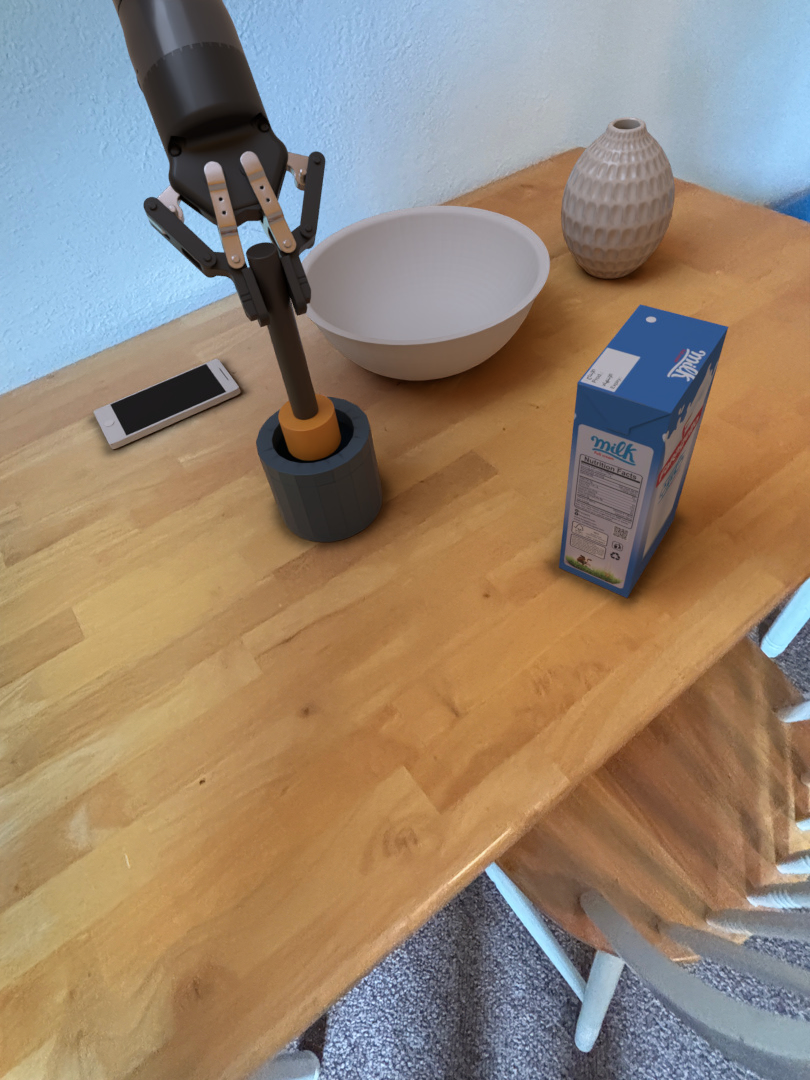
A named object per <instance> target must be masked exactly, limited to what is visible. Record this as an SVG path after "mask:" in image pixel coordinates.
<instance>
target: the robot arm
mask: <svg viewBox="0 0 810 1080" xmlns="http://www.w3.org/2000/svg"><path fill="white" fill-rule="evenodd" d="M111 1H112V3H113V6H114V9H115V12H116V14H117V17H118V20H119V23H120V25H121V29H122V33H123V37H124V40H125V41H124V42H125V45H126V50H127V53H128V57H129V59H130V62H131V65H132V68H133V70H134V73H135V77H136V81H137V85H138V87H139V88H140V91H141V92H142V94H143V96H144V99H145V102H146V104H147V107H148V111H149V112H150V115H151V117H152V121H153V124H154V126H155V128H156V131H157V133H158V134H157V135H158V136H159V139H160V141H161V144H162V147H163V149H164V152H165V155H166V158H167V160H168V164H169V165H168V166H169V168H168V175H167V177H168V183H169V185H168V186H167V187H166V188H165V189H164V190H163V191H162V192H161V193H160V194H159V195H158V196H157V197H155V196H149V197H146V198H145V200H144V201H143V203H142V204H143V210H144V212H145V214H146V217H147V220H148V223H149V224H150V225H151V227H152V228H153V229H155V230H156V231H157V232H158V233H159V234H160V235H161V236H162V237H163V238H164V239H165V240H166V241H167V242H168V243H169V244H170V245H172V246H173V247H174V248H175V250H177V251H178V252H179V253H180V254H181V255H182V256H184V258H185V259H187V261H189V262H190V263H191V264H192V265H193V266H194V267H195V268H196V269H197V270H198V271H200V273H201V274H203V275H204V276H205V277H207V278H209V279H213V278H216V277H225V278H228V279H230V280H231V282H232V283H233V285H234V288H235V291H236V293H237V295H238V298H239V301H240V303H241V306H242V310H243V312H244V314H245V317H246V318H247V319H248V320H249V321H250V322H254V321H257V322H258V325H259V327H260V328H264V327H267V325H270V318H269V315H268V312H267V309H266V306H265V304H264V301H263V298H262V296H261V293H260V290H259V288H258V285H257V282H256V280H255V277H254V274H253V271H252V269H251V267H249V266H248V263H247V262H246V257H245V253H244V249H243V246H242V242H241V237H240V233H239V229H238V228H239V227H241V226H242V225H243V224H245V223H246V222H259V223H260V225H261V227H262V229H263V231H264V233H265V235H266V237H267V238H268V239H269V241H270V243H273V244H275V245H276V246H277V249H278V253H279V257H280V261H281V265H282V269H283V272H284V276H285V280H286V284H287V288H288V292H289V296H290V299H291V303H292V307H293V311H294V313H295V314H296V316H301V315H305V313H306V312H307V304H309V303H310V300H311V288H310V285H309V283H308V280H307V277H306V274H305V271H304V269H303V266H302V260H301V258H300V256H301V254H302V253H303V252H305V251H306V250H310V249H313V248H314V246H315V242H316V235H317V232H318V224H319V216H320V208H321V202H322V193H323V185H324V177H325V168H326V156H325V154H323V153H322V152H320V151H317V150H315V151H312V152H310V153H309V155H303V154H301V153H300V154H299V153H295V152H291V151H288V148H287V146H286V144H285V143H284V142H283V141H282V140H281V139H280V138H279V137H278V136H277V135H276V133H275V131H274V130H273V129H272V125H271V122H270V120H269V117H268V114H267V112H266V109H265V106H264V103H263V100H262V97H261V96H260V93H259V89H258V86H257V83H256V81H255V77H254V76H253V72H252V70H251V68H250V64H249V61H248V59H247V56H246V54H245V50H244V48H243V45H242V42H241V40H240V37H239V34H238V31H237V28H236V26H235V23H234V20H233V18H232V17H231V14H230V12H229V10H228V8H227V7H226V5H225V3H224V1H223V0H111ZM287 172H288V173H290V174H291V175H292V176H293V183H294V186H295V188H297V189H298V190H299V191H302V192H303V196H302V197H303V198H302V206H301V213H300V222H299V225H298V226H296V227H295V228H294V229H293V230H292V231H291V228H290V226H289V224H288V222H287V220H286V217H285V214H284V211H283V208H282V206H281V205H280V202H279V199H280V195H281V191H282V188H283V185H284V182H285V177H286V174H287ZM181 202H182V203H184V204H185V205H187V206H188V207H189V208H191V210H194V211H195V212H196V213H198V214H199V215H200V216H202V217H203V218H204V219H206V220H207V221H208V222H210V223H211V224H213V225H214V226H216V228H217V231H218V235H219V239H220V244H221V248H222V250H223V251H214V250H213V249H212V248H211V247H209V245H208V244H206V243H205V242H204V241H203V240H202V239H201V237H199V236H198V234H196V233H195V232H194V231H193V230H191V229H190V228H189V227H188V226H187V225H186V224H185V220H186V218H185V215H184V211H183V209H182V207H181Z"/></svg>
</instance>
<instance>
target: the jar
mask: <svg viewBox="0 0 810 1080" xmlns="http://www.w3.org/2000/svg"><path fill="white" fill-rule="evenodd" d="M326 397H327V398H329V399H330V400H331V401H332V403H333V405H334V409H335V413H336V417H337V422H338V426H339V430H340V434H341V442H340V445H339V446H338V448H337V449H336V450H335V451H334V452H333V453H332V454H330V455H329V456H327V457H325V458H322V459H319V460H313V461H306V460H301V459H298V458H296V457H294V456H293V455H292V454H291V453H290V452H289V450H288V447H287V444H286V441H285V438H284V435H283V431H282V428H281V425H280V422H279V418H278V415H279V411H280V409H281V408H279V409H278V410H276V412H274V413H273V414H271V415H270V416H269V417H268V418H267V419H266V420H265V421H264V423H263V424H262V425H261V427H260V428H259V430H258V433H257V436H256V441H255V444H256V445H255V446H256V451H257V455H258V458H259V460H260V463H261V466H262V469H263V471H264V474H265V477H266V480H267V482H268V485H269V488H270V490H271V494H272V497H273V499H274V501H275V504H276V507H277V509H278V513H279V515H280V517H281V518H282V521H283V523H284V525H285V526H286V528H287V529H288V530H289V531H290V532H292V534H294V535H296V536H297V537H299V538H301V539H303V540H306V541H309V542H315V543H332V542H338V541H343V540H346V539H348V538H351V537H353V536H355V535H357V534H359V533H361V532H362V531H364V530H365V529H366V528H367V527H369V526H370V525H371V524H372V523H373V522H374V521H375V519H376V518H377V516H378V515H379V513H380V511H381V508H382V505H383V497H384V496H383V487H382V482H381V481H382V480H381V475H380V471H379V466H378V461H377V460H378V459H377V455H376V451H375V450H376V449H375V445H374V439H373V434H372V429H371V424H370V421H369V419H368V416H367V414H366V413H365V412H364V411H363V410H362V409H361V408H360V406H359V405H358V404H356V403H353V402H351V401H349V400H347V399H344V398H340V397H335V396H326Z"/></svg>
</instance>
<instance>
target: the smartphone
mask: <svg viewBox="0 0 810 1080" xmlns="http://www.w3.org/2000/svg"><path fill="white" fill-rule="evenodd" d="M240 394H241V389H240V386H239V384H237V382H236V380H235V379H234V378H233V377H232V375H231V374H230V373H229V372H228V370H227V369H226V367H225V366H224V365H223V363H222V362H221V360H219V359H218V358H214V359H211V360H209V361H207V362H204V363H202V364H200V365H198V366H195V367H193V368H190V369H187V370H186V371H183V372H181V373H178V374H176V375H174V376H171V377H169V378H167V379H164V380H162V381H160V382H157V383H155V384H153V385H150V386H147V387H145V388H143V389H141V390H139V391H136V392H134V393H132V394H129V395H127V396H123V397H122V398H119V399H117V400H115V401H112V402H109V403H108V404H105V405H103V406H101V407H98V408H96V409H95V410H94V411H93V414H94V417H95V418H96V419H95V420H96V421H97V423H98V425H99V427H100V429H101V431H102V433H103V435H104V437H105V439H106V441H107V443H108V444H109V447H110V448H111V449H112V450H115V449H119V448H121V447H123V446H125V445H127V444H130V443H133V442H134V441H137V440H139V439H141V438H143V437H146V436H148V435H150V434H152V433H154V432H157V431H159V430H162V429H163V428H166V427H169V426H170V425H173V424H176V423H177V422H180V421H182V420H184V419H186V418H188V417H191V416H193V415H195V414H198V413H201V412H202V411H204V410H207V409H209V408H212V407H214V406H216V405H218V404H221V403H223V402H224V401H225V402H226V401H227V400H229V399H232V398H234V397H236V396H238V395H240Z"/></svg>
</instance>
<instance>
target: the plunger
mask: <svg viewBox="0 0 810 1080" xmlns="http://www.w3.org/2000/svg"><path fill="white" fill-rule="evenodd" d="M245 256H246V259H247V264H248V267H251V269H252V271H253V274H254V277H255V280H256V282H257V285H258V288H259V290H260V293H261V296H262V298H263V301H264V304H265V306H266V309H267V312H268V315H269V318H270V325H267V326H266V327H267V330H268V334H269V337H270V340H271V341H270V342H271V344H272V347H273V351H274V354H275V357H276V361H277V364H278V368H279V371H280V375H281V378H282V381H283V384H284V385H283V386H284V388H285V391H286V395H287V398H288V400H287V401H286V402H285V403H283V405H282V406H281V407H280V408H279V409H280V411H279V415H278V418H279V422H280V425H281V428H282V431H283V435H284V438H285V441H286V444H287V447H288V450H289V452H290V453H291V454H292V455H293V456H294V457H296V458H298V459H301V460H306V461H313V460H319V459H322V458H325V457H327V456H329V455H330V454H332V453H333V452H334V451H335V450H336V449H337V448H338V446H339V445H340V442H341V434H340V430H339V426H338V422H337V417H336V413H335V409H334V405H333V403H332V401H331V400H330V399H329V398H327V397H328V396H325V395H323V394H321V393H315V389H314V386H313V385H314V384H313V381H312V377H311V374H310V369H309V365H308V361H307V359H306V355H305V350H304V346H303V342H302V339H301V335H300V331H299V326H298V323H297V319H296V316H295V310H294V307H293V304H292V302H291V299H290V296H289V292H288V288H287V284H286V280H285V276H284V272H283V269H282V265H281V261H280V257H279V253H278V249H277V246H276V245H275V244H273V243H271V242H267V241H265V242H258V243H255V244H252V245H251V246H250V247H248V248H247V249H246V251H245Z"/></svg>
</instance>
